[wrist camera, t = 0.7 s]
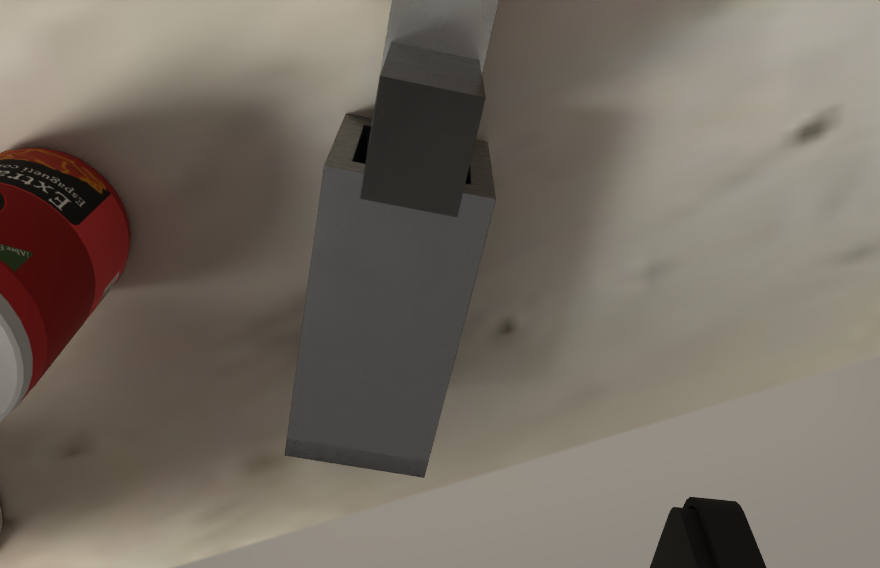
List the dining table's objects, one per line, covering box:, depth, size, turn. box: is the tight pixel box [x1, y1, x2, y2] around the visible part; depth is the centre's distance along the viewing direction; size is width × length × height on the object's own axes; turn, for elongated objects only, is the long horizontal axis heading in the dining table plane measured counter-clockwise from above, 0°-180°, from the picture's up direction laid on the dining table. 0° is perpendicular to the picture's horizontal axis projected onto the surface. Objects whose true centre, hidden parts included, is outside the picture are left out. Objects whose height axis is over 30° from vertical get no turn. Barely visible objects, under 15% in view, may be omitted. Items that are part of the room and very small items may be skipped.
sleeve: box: [285, 114, 496, 478], centre depth 34 cm, size 14×6×7 cm, turn 168°
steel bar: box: [360, 0, 499, 217], centre depth 30 cm, size 20×4×9 cm, turn 168°
